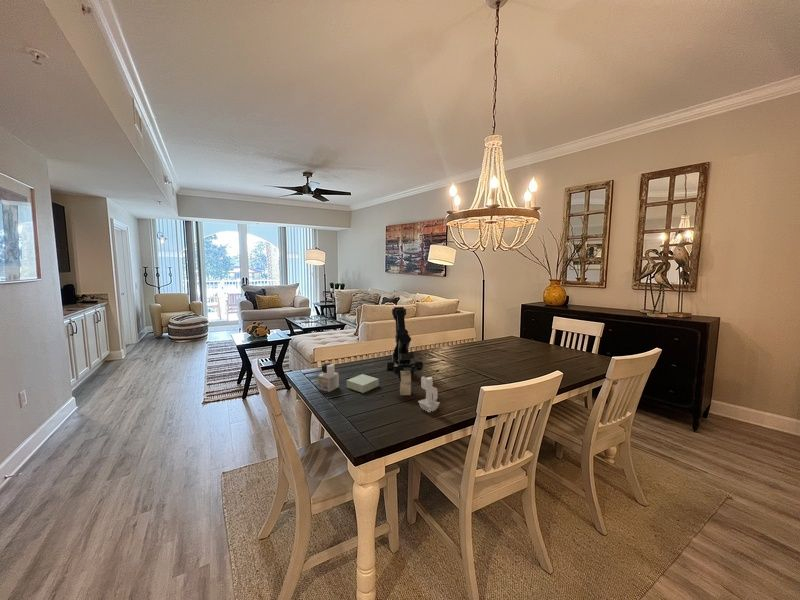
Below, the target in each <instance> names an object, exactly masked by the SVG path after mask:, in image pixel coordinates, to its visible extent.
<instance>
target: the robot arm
mask: <svg viewBox="0 0 800 600" xmlns="http://www.w3.org/2000/svg"><path fill="white" fill-rule="evenodd" d="M391 315H392V318H393V320H394V321H395V338H394V339H395V347H394V349H393V351H392V355H391V356H392V358H391V359H392V361H387V362H386V372H392V373H394V374H395V375H396V376H397V379H398V380H399V381H398V382H399V383H400V382H401V377H400V371H407V369H410V370H409V371H410V372H411V382H412V381H413V376H414V373H416V372H418V371H422V370H423V367H424V363H423V361H422V360H421V361H420V360H418V361H417V360H415V361H414V363H411V362H412V361H411V360H414V359H415V357H414V356H415V355H414V354H415V353H414V352H413V351H410V349H409V348H410V344H411V341H412V337H411V336H410V335H409V331H408V330H407V329H406V322H405V317H406V315H407V308H404V306H394V307H393V308H392V309H391Z"/></svg>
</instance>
